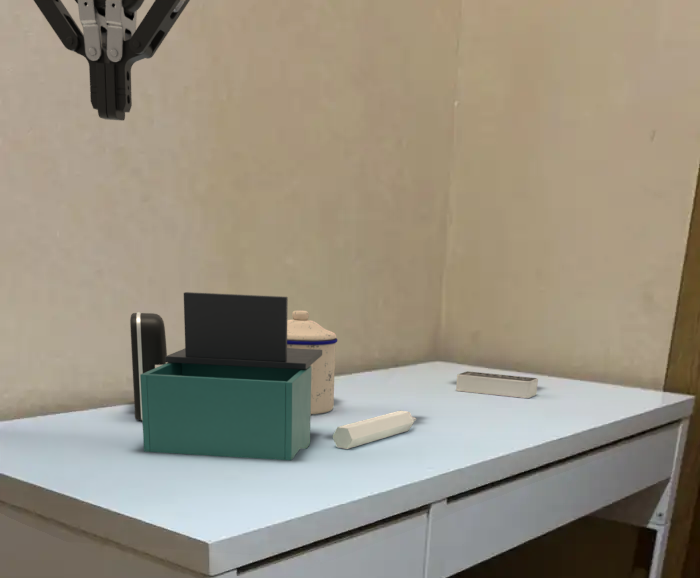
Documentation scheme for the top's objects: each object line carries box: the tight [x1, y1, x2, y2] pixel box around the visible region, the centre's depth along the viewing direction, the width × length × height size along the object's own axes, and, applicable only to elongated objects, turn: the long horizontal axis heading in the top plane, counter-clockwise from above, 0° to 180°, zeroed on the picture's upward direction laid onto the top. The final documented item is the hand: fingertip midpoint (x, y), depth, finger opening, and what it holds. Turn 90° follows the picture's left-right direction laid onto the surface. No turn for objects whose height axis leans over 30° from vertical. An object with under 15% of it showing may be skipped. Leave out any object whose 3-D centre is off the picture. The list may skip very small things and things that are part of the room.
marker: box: [332, 410, 417, 450], centre depth 102 cm, size 3×2×16 cm
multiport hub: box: [455, 370, 539, 399], centre depth 135 cm, size 4×11×2 cm, turn 64°
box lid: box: [165, 291, 322, 370], centre depth 96 cm, size 14×12×7 cm
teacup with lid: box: [287, 310, 338, 415], centre depth 113 cm, size 12×9×12 cm
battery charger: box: [129, 311, 168, 421], centre depth 106 cm, size 7×4×11 cm, turn 11°
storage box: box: [140, 362, 312, 461], centre depth 91 cm, size 14×12×8 cm
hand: (111, 118), depth 74 cm, fingers closed
